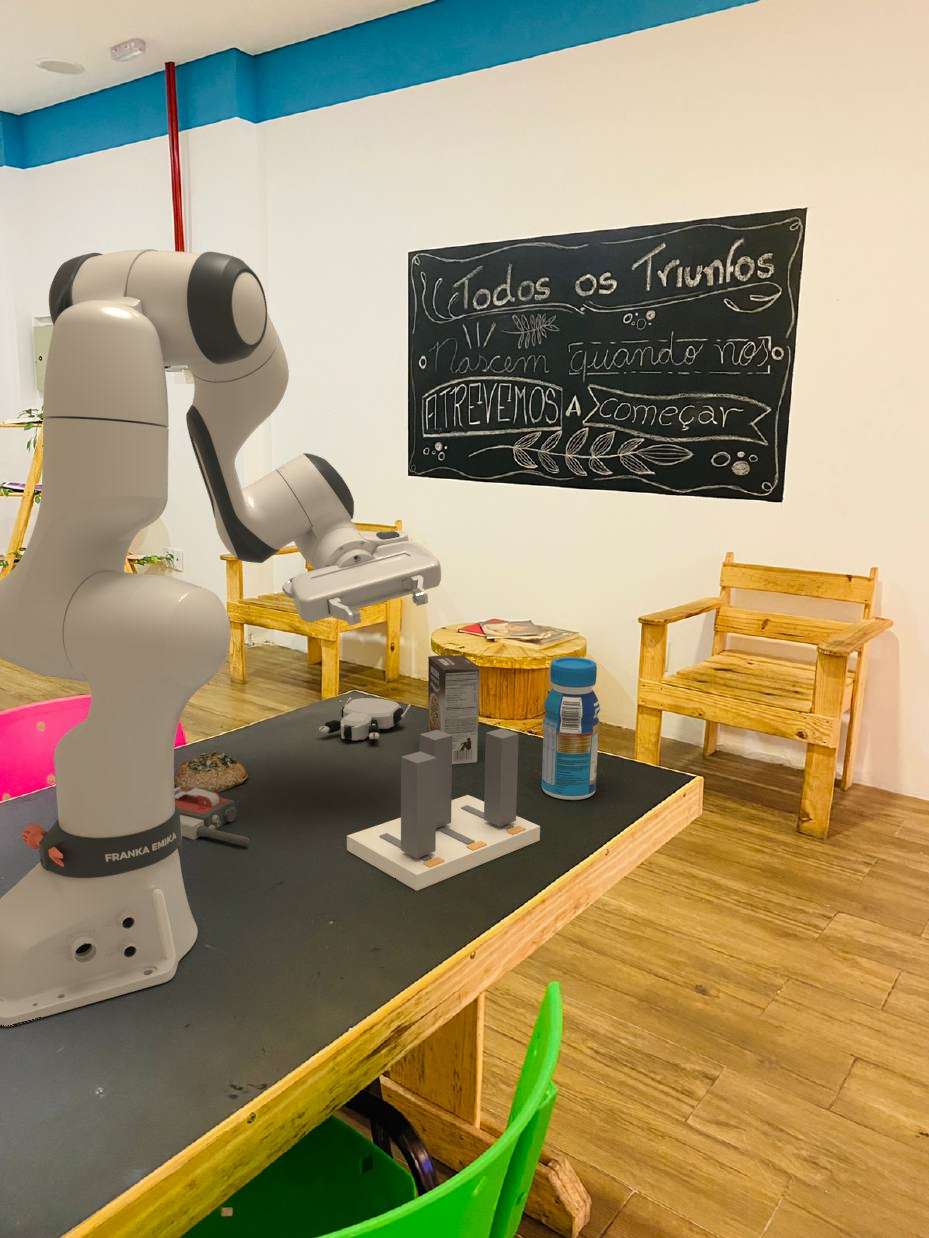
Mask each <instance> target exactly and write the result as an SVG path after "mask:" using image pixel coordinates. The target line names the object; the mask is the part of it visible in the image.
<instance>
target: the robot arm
mask: <svg viewBox="0 0 929 1238" xmlns="http://www.w3.org/2000/svg"><path fill="white" fill-rule="evenodd" d="M48 306H49V307H48V308H49V315H50V319H51V322H52V324H53V328H52V332H51V337H50V340H49V341H50V342H49V347H48V353H47V358H46V359H47V360H46V366H45V367H46V368H45V375H44V386H43V398H42V399H43V403H42V418H43V419H42V424H43V425H42V430H43V431H42V471H41V475H42V477H41V495H40V496H41V497H40V502H39V508H38V514H37V518H36V521H35V525H34V527H33V530H32V533H31V536H30V539H29V541H28V544H27V546H26V549H24V551H23V552H24V553H23V554H22V556H21V558H20V560H18V562H17V563H16V565H15V566H14V568H12V570H11V571H10V572H9V573H8V574H6V575H5V576H4V577H2V578H1V579H0V659H2V660H4V661H6V662H8V663H10V664H12V665H14V666H17V667H18V668H21V669H23V670H26V671H29V672H31V673H33V674H36V675H40V676H44V677H50V678H58V679H64V680H71V681H72V680H73V681H77V682H86V683H88V685H89V688H90V694H91V695H90V696H91V697H90V698H91V699H90V704H89V710H88V714H87V717H86V719H85V720H83V721H81V722H79V723H78V724H76V725H74V726H73V727H72V728H70V729H69V730H68V731H67V732H66V733H65V734H64V735H63V736H62V737H61V738H60V739H59V740H58V742H57V744H56V747H55V750H54V752H53V753H54V754H53V764H54V765H53V766H54V778H55V779H54V780H55V792H56V804H57V807H56V808H57V816H58V817H57V819H56V820H55V822H54V824H53V825H52V826H51V827H50V829H49V830H48V831H46V830H45V829H44V828H43V827H42V826H41V825H40V824H37V823H33V824H30V825H27V826H26V827H25V828H24V831H23V830H22V835H21V839H22V841H23V842H24V843H25V844H27V846H28V847H29V848H30V849H33V850H39V862H38V863H37V864H36V865H35V866H34V867H33V868H32V869H31V870H29V872H28V873H26V874H25V875H24V876H23V877H22V878H21V879H20V880H19V881H18V882H17V883H16V884H15V885H14V886H13V887H11V888H10V889H9V890H8V891H7V892H6V893H5V894H4V895H3V896H1V898H0V1026H1V1025H2V1027H11V1026H10V1025H12V1024H14V1023H18V1022H22V1021H27V1020H31V1021H33V1020H32V1019H34V1020H36V1019H35V1018H37V1017H41V1018H45V1017H48V1016H52V1015H55V1014H59V1013H62V1012H65V1011H70V1010H73V1009H77V1008H79V1007H84V1006H86V1005H90V1004H93V1003H97V1002H100V1001H104V1000H107V999H111V998H115V997H118V996H121V995H125V994H129V993H132V992H135V991H139V990H143V989H146V988H149V987H153V986H157V985H161V984H164V983H167V982H169V981H170V980H172V979H173V978H174V977H175V974H176V972H177V969H178V966H179V962H180V961H181V959H182V958H183V957H184V956H185V955H186V954H187V953H188V952H189V951H190V950H191V949H192V948H193V946H194V944H195V943H196V940H197V938H198V932H199V931H198V926H197V925H198V924H197V923H196V922H195V918H194V916H193V913H192V911H191V908H190V903H189V902H188V896H187V893H186V888H185V883H184V879H183V878H184V877H183V873H182V867H181V860H180V858H181V856H182V850H183V848H182V847H183V846H182V845H183V844H182V840H183V836H182V828H181V821H180V811H179V807H178V806H177V805H176V804H175V791H174V788H175V783H174V775H175V744H176V735H177V731H178V726H179V723H180V721H181V718H182V714H183V713H184V711H185V708H186V707H187V705H188V703H189V701H190V700H191V698H192V697H193V696H194V695H195V694H196V693H197V692H198V691H199V690H200V689H201V688H203V687H204V686H205V685H207V684H208V683H210V681H212V680H213V679H214V677H215V676H216V675H217V674H218V673H219V672H220V670H221V668H222V667H223V666H224V664H225V662H226V659H227V657H228V654H229V651H230V647H231V641H232V640H231V638H232V635H231V634H232V630H231V629H232V628H231V622H230V618H229V614H228V611H227V609H226V608H225V605H224V603H223V602H222V600H221V598H220V597H219V596H218V595H217V594H216V593H214V592H213V591H211V590H210V589H207V588H206V587H202V586H199V585H196V584H194V583H192V582H189V581H185V580H182V579H178V578H175V577H172V576H169V575H160V574H159V575H158V574H147V573H137V572H125V565H126V559H127V556H128V553H129V549H130V547H131V544H132V543H133V541H134V539H135V537H136V536H137V535H138V534H139V532H140V531H141V530H143V529H145V528H147V527H148V526H150V525H152V524H153V523H154V522H156V521H157V520H158V519H159V518H160V517H161V516H162V515H163V513H164V511H165V509H166V507H167V504H168V500H169V499H168V498H169V491H168V488H169V431H170V430H169V401H168V400H169V398H168V396H169V395H168V386H167V377H166V368H165V367H169V366H171V367H173V366H175V367H176V366H177V367H178V366H180V367H181V366H187V367H188V369H189V371H190V373H191V375H192V378H193V383H194V384H193V385H194V387H193V388H194V390H193V391H194V392H193V399H192V403H191V404H190V407H189V408H188V410H187V412H186V414H185V415H186V419H185V421H186V426H187V432H188V437H189V439H190V442H191V447H192V449H193V453H194V456H195V459H196V462H197V465H198V468H199V471H200V475H201V477H202V480H203V483H204V486H205V488H206V492H207V495H208V498H209V501H210V504H211V510H212V513H213V517H214V521H215V528H216V530H217V534H218V536H219V538H220V540H221V542H222V544H223V545H224V547H225V548H226V550H227V551H228V552H229V553H230V554H231V555H232V556H233V557H235V559H236V560H238V561H241V562H245V563H246V562H247V563H252V564H253V563H256V564H262V563H265V562H266V561H268V560H269V559H270V558H272V557H273V556H274V555H276V554H277V553H278V552H280V550H281V549H283V548H284V547H286V546H287V545H289V544H291V543H292V542H294V544H295V546H296V548H297V550H298V551H299V553H300V555H301V556H302V558H303V559H304V561H306V563H307V564H308V565H309V566H311V567H312V568H313V570H309V571H307V572H303V573H300V574H298V575H295V576H294V577H291V578H289V581H287V582H285V583H284V584H282V592H283V593H284V594H285V596H286V597H287V598H290V599H293V602H294V603H293V604H294V607H295V609H296V612H297V614H298V617H300V619H301V620H302V621H304V622H307V623H314V622H317V621H321V620H325V619H328V618H333V619H337V620H341V621H346V623H347V624H348V625H349V626H350V627H351V626H354V625H357V624H360V623H362V622H361V621H362V620H361V613H360V609H363V608H366V607H369V606H373V605H377V604H380V603H384V602H387V601H390V600H394V599H398V598H401V597H405V596H409V595H412V596H411V598H412V603H413V604H415V605H416V607H418V606H423V605H426V604H428V603H429V596H428V592H427V591H426V590H429V589H432V588H433V589H434V588H437V587H438V586H439V585H440V584H441V580H442V570H441V569H442V568H441V563H440V560H439V559H438V558H437V557H436V556H435V555H434V554H433V553H432V551H430V550H428V548H426V547H425V546H423V545H422V544H420V543H418V542H416V541H411V540H409V537H408V533H406V531H404V530H393V531H392V530H391V531H366V530H359V529H358V528H357V525H356V524H355V523H354V522H353V521H352V520H353V519H354V516H355V515H354V513H355V501H354V498H353V495H352V492H351V490H350V488H349V486H348V485H347V483H346V481H345V480H344V478H343V476H341V474H340V473H339V472H338V470H336V468H334V467H333V465H332V464H331V463H330V462H329V461H328V460H327V459H325V458H324V457H321V456H318V455H316V454H312V453H307V452H306V453H302V454H300V455H297V456H296V457H295V458H292V459H291V460H289V461H287V462H286V463H283V464H282V465H281V466H279V467H278V468H277V467H276V468H275V470H273V471H271V472H270V473H268V474H267V475H265V476H263V477H261V478H260V479H258V480H255V481H254V482H253V483H251V484H249V485H247V486H245V487H243V488H242V486H241V483H240V479H239V476H238V473H237V469H236V466H235V465H236V464H235V462H236V457H237V455H238V453H239V451H240V449H241V448H242V447H243V445H244V444H245V443H246V441H247V440H248V439H249V437H250V436H251V435H252V434H253V433H254V432H255V431H256V430H257V429H258V428H259V427H260V425H262V424H263V422H265V421H266V420H267V419H268V418H269V417H270V416H271V415H272V414H273V413H274V411H275V410H276V409H277V408H278V407H279V405H280V403H281V402H282V400H283V398H284V396H285V393H286V391H287V388H288V383H289V379H290V372H289V371H290V370H289V364H288V359H287V357H286V353H285V349H284V347H283V344H282V342H281V339H280V338H279V335H278V332H277V330H276V327H275V325H274V323H273V321H272V319H271V317H270V315H269V313H268V305H267V299H266V295H265V290H264V288H263V285H262V282H261V281H260V279H259V277H258V275H257V274H256V272H255V271H253V269H252V268H251V267H250V266H249V265H248V264H247V263H246V262H244V261H243V260H242V259H241V258H239V257H235V256H233V255H231V254H230V255H229V254H227V253H222V252H221V253H220V252H218V251H217V252H215V251H205V252H203V253H197V252H187V251H175V250H174V251H171V250H170V251H169V250H157V249H154V248H145V249H143V248H142V249H130V250H120V251H115V252H110V253H105V254H103V253H99V252H91V253H85V254H81V255H79V256H76V257H72V258H70V259H68V260H67V261H64V262H63V263H62V264H60V266H59V267H58V269H57V271H56V273H55V275H54V277H53V279H52V281H51V284H50V287H49V292H48ZM27 1022H28V1021H27ZM3 1025H4V1026H3ZM8 1025H9V1026H8ZM12 1026H13V1025H12Z"/></svg>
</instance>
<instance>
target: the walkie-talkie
mask: <svg viewBox="0 0 929 1238" xmlns="http://www.w3.org/2000/svg"><path fill="white" fill-rule="evenodd" d="M174 791H175V804H176V805H177V806H178V807H179V811H180V821H181V828H182V838H183V837H184V838H188V839H190V840H196V839H197V838H200V837H203V838H207V837H209V838H212V839H215V840H222V841H226V842H231V841H233V842H239V843H242V844H249V843H250V838H248V837H249V836H248V837H247V836H244V835H240V834H239V835H238V834H235V833H230V832H225V831H222V830H218V828H220V827H222V826H223V825H225V824H227V823H233V822H234V821H235V820H236V818H237V815H238V810H237V808H236V800H233V799H227V798H223V797H221V796H220V794H219V793H218V792H212V791H206V790H203V789H198V788H194V789H192V790H190V791H186V790H182V789H181V788H180V787H177V788H176V787H174Z"/></svg>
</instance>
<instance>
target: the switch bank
mask: <svg viewBox="0 0 929 1238" xmlns="http://www.w3.org/2000/svg"><path fill="white" fill-rule="evenodd" d="M540 837H541V825H538V824H536V823H534V822H531V821H529V820H527V819H525V818H522V817H520V816H518V815H516V821H514V822H511V823H509V824H506V825H503V826H501V827H499V826H497V825H495V824H492V823H490V822H488V821H486V820H484V801H483V800H481V799H479V798H476V797H474V796H471V795H469V794H466V795H463V796H461V797H457V798H455V799H452V803H451V823H450V824H447V825H444V826H441V827H438V828H436V849H435V852H432V853H430V854H427V855H425V856H422V857H419V858H417V859H416V858H414V857H413V856H411V855H409V854H407V853H405V852H403V851H402V850H401V817H398V818H396V819H392V820H389V821H386V822H383V823H381V824H378V825H375V826H372V827H369V828H365V829H362V830H360V831H356V832H353V833H351V834H348V835H346V851H348V852H349V853H351V854H353V855H354V856H356V857H358V858H359V859H361V860H362V861H364V862H367V863H368V864H369V865H371V866H373V867H375V868H377V869H379V870H380V871H382V872H383V873H385V874H387V875H389V876H390V877H392V878H393V879H395V878H396V879H395V880H397V881H399V882H401V883H402V884H404V885H406V886H408V887H409V888H411V889H413V890H415V891H420V890H422V889H425V888H427V887H430V886H432V885H434V884H437V883H439V882H442V881H444V880H447V879H449V878H451V877H453V876H456V875H458V874H461V873H464V872H466V871H468V870H471V869H474V868H476V867H478V866H480V865H483V864H486V863H488V862H491V861H493V860H495V859H498V858H500V857H502V856H504V855H507V854H510V853H512V852H514V851H517V850H520V849H522V848H525V847H526V846H529V845H532V844H534V843H536V842H539V841H540Z"/></svg>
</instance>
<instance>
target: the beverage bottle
mask: <svg viewBox="0 0 929 1238" xmlns="http://www.w3.org/2000/svg"><path fill="white" fill-rule="evenodd" d="M549 670H550V672H549V673H550V674H549V677H550V678H549V679H550V680H549V681H550V683H551V685H552V686H553V687H552V688H551V689H550V691H549V692H548V694H547V696H546V698H545V701H544V705H543V706H544V711H545V714H544V716H543V719H542V729H543V733H542V734H543V738H542V771H541V775H542V776H541V789H542V791H543V792H544V793H545V794H547V795H548V796H551V797H552V798H555V799H561V800H566V801H567V800H569V801H577V800H578V801H579V800H584V799H587V798H589V797H591V796H593V795H594V794H595V792H596V791H597V767H598V751H599V750H598V749H599V735H600V734H599V732H600V730H601V722H600V719H599V718H598V715H599V713H600V710H601V706H600V702H599V699H598V697H597V695H596V693H595V690H593V688H594V687H595V686H596V683H597V675H598V673H597V671H598V667H597V663H596V661H593V660H591V659H589V658H584V657H572V656H567V657H566V656H565V657H558V658H554V659H553V660H551V663H550V669H549Z"/></svg>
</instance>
